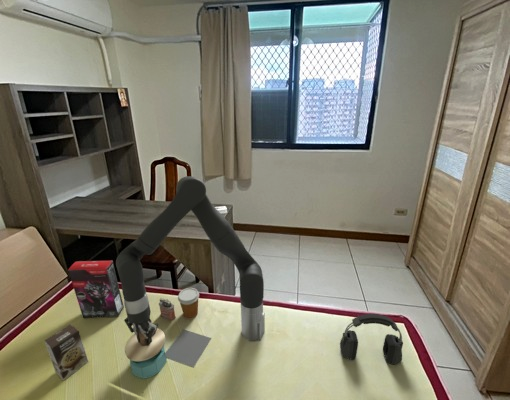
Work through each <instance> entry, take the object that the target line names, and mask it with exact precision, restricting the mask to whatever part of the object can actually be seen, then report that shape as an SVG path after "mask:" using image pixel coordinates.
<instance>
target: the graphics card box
mask: <svg viewBox="0 0 510 400" xmlns="http://www.w3.org/2000/svg"><path fill="white" fill-rule="evenodd" d="M114 265H115V264H114V261H113V260H112V259H111V260H85V261H84V260H79V261H74V263H73V264H71V266H70V267H69V268H68V269H67V270H68V274H69V277H70V281H71V284H72V288H73V290H74V294H75V296H76V300H77V302H78V303H77V304H78V306H79V309H80V312H81V317H82V318H83V319H91V318H93V319H95V318H116V317H117V318H118V317H119V316H120V315H121V314H122V312H123V310H124V308H125V305H124V300H123V299H122V297H123V296H122V293H121V290H120V287H119V282H118V278H117V274H116V270H115V269H116V268H115V266H114Z"/></svg>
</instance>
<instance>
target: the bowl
mask: <svg viewBox="0 0 510 400" xmlns="http://www.w3.org/2000/svg"><path fill="white" fill-rule="evenodd" d="M165 353H166V350H165V345H164V346H163V348H162V349H161V350H160V352H159V353H157V354H156V355H155V356H153V357H152V358H150V359H148V360H144V361H132V360H130V359H129V364H130V369H131V372H132V375H133V376H136V377H137V378H139V379H142V380H145V379H146V378H147V379H148V378H151V377H153V376H155V375H158V374H159V372H161V370H162V369H163V368H164V366H165V364H166V363H167V358H166V355H165Z"/></svg>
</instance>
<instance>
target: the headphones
mask: <svg viewBox="0 0 510 400" xmlns="http://www.w3.org/2000/svg"><path fill="white" fill-rule="evenodd" d="M351 320H352V322H350V323H349V324H348V325H347V326H346V328H345V330H344V332H343V333H342V337H341V339H340V342H339V350H340V353H341V355H342V357H343V358H345V359H349V360H356V357H357V354H358V349H359V348H358V347H359V340H358V336H357V333H356V331H355V330H350V329H351V328H353V327H355V328H357V327H359V326H361V325H362V324H363V325H368V324H370V325H371V324H373V325H374V324H376V325H377V324H378V325H382V326H386V327H390V326H391V329H393V330H394V331H395V332H398V333H399V336H397V335H396V334H389V333H388V334H386V335H385V337H384V340H383V346H382V353H383V357H384V359H385V362H386V363H388V364H391V365H396V364H397V365H398V364H401V362H402V361H403V345H404V342H403V335H402V332H401V330H400V329H399V327H398V326H397V324H396V322H395V321H394V320H393V319H392V318H391V317H389V316H386V315H382V314H378V313H366V314H361V315H358V316H356V317H354V318H352V319H351Z"/></svg>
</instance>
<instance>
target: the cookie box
mask: <svg viewBox="0 0 510 400" xmlns="http://www.w3.org/2000/svg"><path fill="white" fill-rule="evenodd" d="M82 340H83V339H82V337H81V334H80V331H79V329H77V328H76V327H74V325H73V324H71V323H69V324H68V325H67V326H64V327H63V328H62V329H60V330H58V331H57V332H56V333H54V334H52V335H50V336H49V337H47V338H46V339H44V340H43V341H44V343H45V344H44V345H45V346H46V347H45V348H46V350H47V352H48V354H49V357H50V361H51V362H52V366H53V369H54V372H55V373H56V375H57V376H58V377H60V379H61V380H63V381H65V380H66V379H68V378H69V377H70V376H72V375H73V374H74V373H76V372H77V371H78V370H79V369H81V368H82V367H84V366H85V365H86V364H88V363H89V359H88V356H87V353H86V349H85V347H84V343H83V341H82Z"/></svg>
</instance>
